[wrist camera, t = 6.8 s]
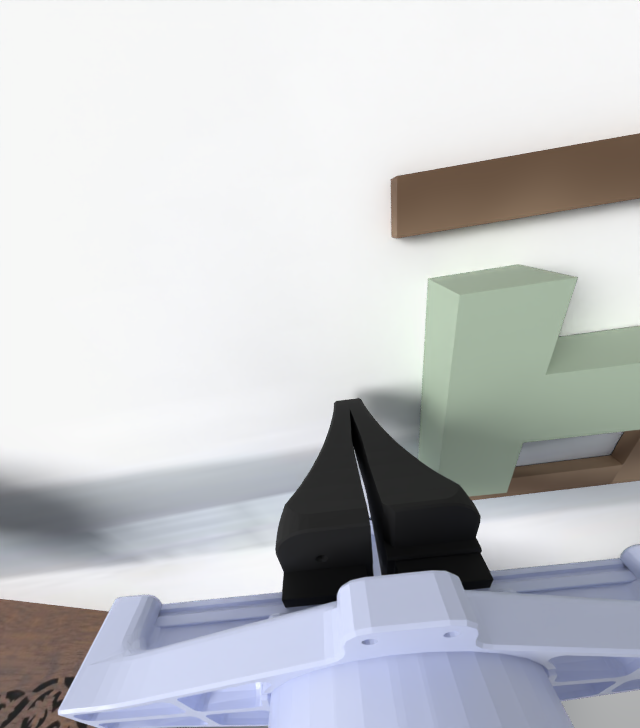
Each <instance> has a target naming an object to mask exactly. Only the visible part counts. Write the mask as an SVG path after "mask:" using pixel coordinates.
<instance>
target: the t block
mask: <svg viewBox="0 0 640 728" xmlns="http://www.w3.org/2000/svg"><path fill="white" fill-rule="evenodd" d="M577 278H578V277H574V276H569V275H564V274H560V273H555V272H551V271H546V270H541V269H537V268H532V267H527V266H523V265H511V266H505V267H499V268H492V269H486V270H480V271H473V272H467V273H460V274H454V275H448V276H441V277H435V278H429V279H428V287H427V305H426V323H425V342H424V360H423V378H422V396H421V414H420V433H419V451H418V460H419V461H421V462H422V463H424V464H425V465H426V466H428V467H429V468H431V469H433V470H434V471H436V472H437V473H439V474H441V475H443V476H445V477H446V478H448V479H450V480H452V481H454V482H456V483H457V484H459V485H460V486H461V487H462V488H463V490H464V491H465V492H466V493H467V495H468V496H469V497H470V496H480V495H490V494H499V493H507V490H508V487H509V484H510V481H511V478H512V475H513V472H514V469H515V466H516V463H517V460H518V457H519V454H520V451H521V448H522V445H523V443H526V442H534V441H543V440H552V439H561V438H570V437H578V436H587V435H596V434H605V433H614V432H623V431H631V430H640V326H635V327H628V328H621V329H613V330H606V331H599V332H591V333H584V334H577V335H569V336H562V337H558V336H559V333H560V330H561V327H562V324H563V321H564V318H565V315H566V312H567V309H568V306H569V303H570V300H571V297H572V294H573V291H574V288H575V285H576V282H577Z"/></svg>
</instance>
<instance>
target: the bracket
mask: <svg viewBox="0 0 640 728" xmlns="http://www.w3.org/2000/svg"><path fill="white" fill-rule="evenodd" d="M638 198H640V133H639V134H634V135H628V136H622V137H616V138H611V139H605V140H599V141H594V142H588V143H582V144H577V145H571V146H565V147H560V148H554V149H548V150H543V151H537V152H531V153H526V154H520V155H514V156H508V157H503V158H497V159H491V160H486V161H480V162H474V163H469V164H463V165H457V166H452V167H446V168H440V169H435V170H429V171H423V172H418V173H412V174H406V175H400V176H396V177H394V178H393V179H391V227H392V237H393V238H402V237H408V236H414V235H420V234H426V233H432V232H438V231H444V230H450V229H456V228H462V227H468V226H474V225H480V224H486V223H493V222H499V221H505V220H511V219H517V218H523V217H529V216H535V215H541V214H547V213H553V212H559V211H565V210H571V209H577V208H583V207H589V206H596V205H602V204H608V203H614V202H620V201H626V200H632V199H638ZM631 481H640V430H631V431H625V432H624V433H623V435H622V437H621V438H620V440H619V442H618V444H617V445H616V447H615V449H614V451H613V452H612V454H611V455H609V456H601V457H593V458H585V459H576V460H568V461H560V462H552V463H544V464H536V465H528V466H519V467H515V469H514V472H513V475H512V478H511V481H510V484H509V487H508V490H507V493H499V494H490V495H480V496H470V497H469V498H470V499H471V500H479V499H487V498H496V497H504V496H513V495H521V494H530V493H538V492H547V491H555V490H564V489H572V488H581V487H589V486H597V485H606V484H614V483H623V482H631Z"/></svg>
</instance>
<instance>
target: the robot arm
mask: <svg viewBox="0 0 640 728" xmlns="http://www.w3.org/2000/svg"><path fill="white" fill-rule="evenodd" d="M354 450H355V454H356V457H357V461H358V464H359V468H360V471H361V475H362V478H363V482H364V485H365V489H366V493H367V499H368V504H369V509H370V514H371V520H369V515H368V510H367V505H366V501H365V497H364V493H363V489H362V485H361V481H360V476H359V472H358V468H357V463H356V458H355V454H354ZM479 524H480V514H479V512H478V510H477V508H476V506H475V505H474V503H473V502H472V500H471V499H470V498H469V496H468V495H467V493H466V492H465V491H464V490H463V488H462V487H461V486H460V485H459V484H457V483H456V482H454V481H452V480H450V479H448V478H446V477H445V476H443V475H441V474H439V473H437V472H436V471H434V470H433V469H431V468H429V467H428V466H426V465H425V464H424V463H422V462H421V461H419V460H418V459H417V458H415V457H414V456H413V455H411V454H410V453H409V452H407V451H406V450H405V449H404V448H403V447H401V446H400V445H399V444H398V443H397V442H396V441H395V440H394V439H393V438H392V437H391V436H390V435H389V434H388V433H387V432H386V431H385V430H384V429H383V428H382V427H381V426H380V425H379V424H378V422H377V421H376V420H375V419H374V418H373V416H372V415H371V414H370V412H369V411H368V410H367V408H366V407H365V405H364V404H363V402H362V400H361V399H359V398H357V399H349V400H342V401H336V402H335V403H334V412H333V417H332V421H331V425H330V428H329V431H328V434H327V437H326V440H325V442H324V445H323V447H322V449H321V451H320V453H319V456H318V458H317V459H316V461H315V463H314V465H313V467H312V468H311V470H310V472H309V473H308V475H307V476H306V478H305V479H304V481H303V482H302V484H301V485H300V487H299V488H298V489H297V491H296V492H295V493H294V494H293V496H292V497H291V498H290V499H289V501H288V502H287V503H286V504H285V506H284V509H283V512H282V515H281V519H280V522H279V527H278V532H277V540H276V549H275V550H276V555H277V557H278V560H279V562H280V564H281V567H282V569H283V571H284V577H283V590H282V592H279V593H269V594H259V595H250V596H240V597H230V598H220V599H210V600H200V601H190V602H180V603H170V604H162V603H161V602H160V600H159V599H158V598H157V597H155V596H152V595H137V596H127V597H119V598H117V599H115V601H114V603H113V605H112V607H111V609H110V611H109V613H108V615H107V617H106V618H105V620H104V622H103V624H102V626H101V628H100V630H99V632H98V634H97V636H96V638H95V640H94V642H93V644H92V646H91V647H90V649H89V651H88V653H87V655H86V657H85V659H84V661H83V663H82V665H81V667H80V669H79V671H78V673H77V675H76V676H75V678H74V680H73V682H72V684H71V686H70V688H69V690H68V692H67V694H66V696H65V698H64V700H63V702H62V703H61V705H60V707H59V709H58V715H60V716H63V717H66V718H69V719H72V720H75V721H78V722H81V723H84V724H87V725H91V726H94V727H97V728H158V727H159V728H160V727H215V726H268V728H574V726H573V724H572V722H571V720H570V718H569V716H568V714H567V713H566V711H565V709H564V707H563V705H562V703H561V701H566V700H573V699H580V698H587V697H593V696H601V695H608V694H615V693H621V692H628V691H635V690H640V544H637V545H633V546H630V547H628V548H627V549H625V550H624V551H623V552H622V554H621V556H620V558H617V559H607V560H598V561H588V562H578V563H568V564H558V565H548V566H538V567H528V568H518V569H508V570H498V571H489V569H488V567H487V565H486V563H485V561H484V559H483V557H482V555H481V551H482V550H481V547H480V545H479V543H478V541H477V539H476V534H477V531H478V528H479Z"/></svg>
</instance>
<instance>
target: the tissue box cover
mask: <svg viewBox="0 0 640 728" xmlns="http://www.w3.org/2000/svg"><path fill="white" fill-rule="evenodd" d="M108 613H109V612H107V611H98V610H90V609H81V608H73V607H64V606H56V605H47V604H39V603H30V602H22V601H13V600H5V599H0V728H97V727H94V726H91V725H87V724H84V723H81V722H78V721H75V720H72V719H69V718H66V717H63V716H60V715H58V709H59V707H60V705H61V703H62V702H63V700H64V698H65V696H66V694H67V692H68V690H69V688H70V686H71V684H72V682H73V680H74V678H75V676H76V675H77V673H78V671H79V669H80V667H81V665H82V663H83V661H84V659H85V657H86V655H87V653H88V651H89V649H90V647H91V646H92V644H93V642H94V640H95V638H96V636H97V634H98V632H99V630H100V628H101V626H102V624H103V622H104V620H105V618H106V617H107V615H108Z"/></svg>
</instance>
